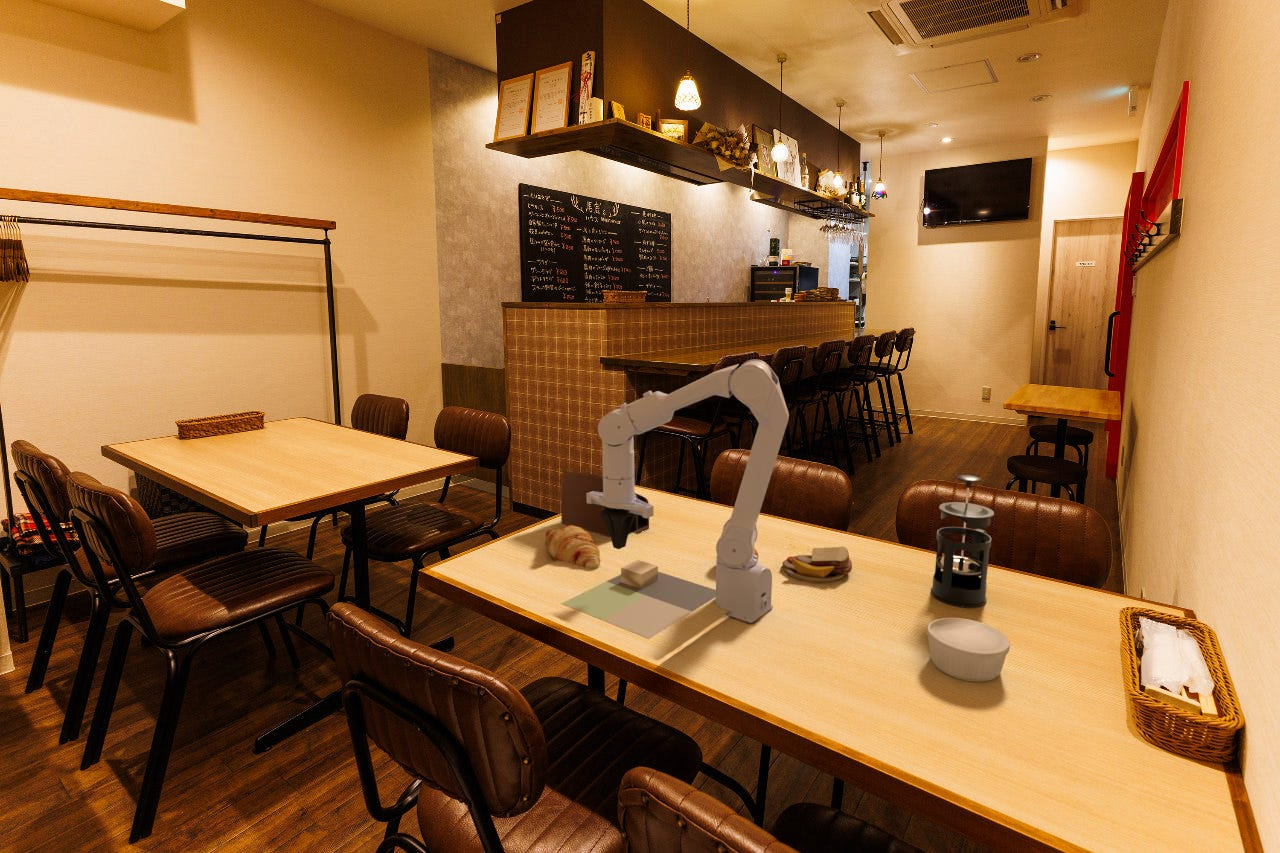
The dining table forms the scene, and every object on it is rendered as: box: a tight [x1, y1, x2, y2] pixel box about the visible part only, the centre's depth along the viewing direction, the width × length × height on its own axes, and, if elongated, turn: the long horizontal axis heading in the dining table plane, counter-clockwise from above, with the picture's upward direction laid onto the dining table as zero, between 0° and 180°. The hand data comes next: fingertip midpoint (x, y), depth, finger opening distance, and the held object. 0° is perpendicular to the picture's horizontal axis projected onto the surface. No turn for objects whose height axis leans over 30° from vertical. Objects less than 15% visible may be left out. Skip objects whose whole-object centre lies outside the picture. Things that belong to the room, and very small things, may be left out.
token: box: [620, 559, 659, 589], centre depth 129 cm, size 5×5×3 cm
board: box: [560, 571, 716, 640], centre depth 122 cm, size 20×22×1 cm
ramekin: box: [926, 617, 1011, 683], centre depth 101 cm, size 11×11×5 cm
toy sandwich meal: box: [782, 546, 853, 583], centre depth 136 cm, size 12×14×5 cm
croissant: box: [545, 525, 601, 570], centre depth 144 cm, size 21×10×8 cm, turn 36°
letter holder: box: [560, 471, 650, 537], centre depth 162 cm, size 10×20×14 cm, turn 53°
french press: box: [930, 474, 995, 609], centre depth 123 cm, size 12×9×23 cm
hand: (619, 546), depth 124 cm, fingers closed
